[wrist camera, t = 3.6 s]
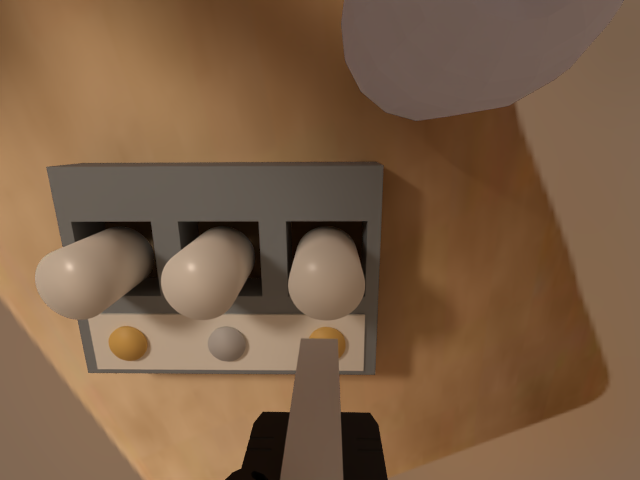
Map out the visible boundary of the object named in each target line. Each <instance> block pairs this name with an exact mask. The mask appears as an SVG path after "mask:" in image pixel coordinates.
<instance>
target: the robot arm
mask: <svg viewBox="0 0 640 480" xmlns="http://www.w3.org/2000/svg"><path fill="white" fill-rule="evenodd" d="M225 480H388V479H387V473H386V467H385V461H384V455H383V449H382V443H381V438H380V432H379V426H378V424H377V422H376V421H375V419H374V418H373V416H372V415H371V414H370V413H357V412H341V409H340V384H339V358H338V339H316V338H301V341H300V347H299V354H298V361H297V368H296V375H295V381H294V388H293V395H292V402H291V408H290V412H262V414H261V415H260V416H259V417H258V419H257V420H256V421H255V422H254V424H253V427H252V431H251V435H250V440H249V442H248V446H247V451H246V453H245V457H244V461H243V464H242V468H241V469H239V470H237V471H235V472H233V473H232V474H231V475H230V476H229V477H227V478H226V479H225Z"/></svg>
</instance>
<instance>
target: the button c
mask: <svg viewBox="0 0 640 480" xmlns="http://www.w3.org/2000/svg"><path fill="white" fill-rule="evenodd" d="M288 289H289V294H290V297H291V299H292V301H293V303H294V304H295V306H296V307H297V308H298V309H299V310H300V311H301V312H302V313H304V314H305V315H307V316H309V317H311V318H314V319H317V320H325V321H329V320H336V319H340V318H342V317H345V316H346V315H348V314H350V313H351V312H352V311H354V310H355V309H356V307H357V306H358V305H359V304H360V302H361V300H362V298H363V295H364V291H365V279H364V274H363V271H362V267H361V263H360V259H359V256H358V252H357V248H356V245H355V243H354V241H353V239H352V238H351V237H350V236H349V235H348V234H347V233H346V232H345V231H343V230H341V229H339V228H336V227H332V226H321V227H317V228H314V229H312V230H310V231H309V232H307V233H306V234H305V235H304V236H303V237H302V239H301V240H300V242H299V244H298V246H297V250H296V253H295V257H294V261H293V264H292V268H291V272H290V275H289V280H288Z"/></svg>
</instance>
